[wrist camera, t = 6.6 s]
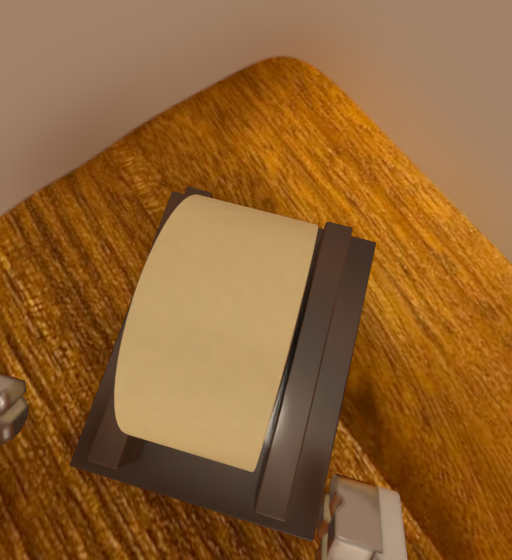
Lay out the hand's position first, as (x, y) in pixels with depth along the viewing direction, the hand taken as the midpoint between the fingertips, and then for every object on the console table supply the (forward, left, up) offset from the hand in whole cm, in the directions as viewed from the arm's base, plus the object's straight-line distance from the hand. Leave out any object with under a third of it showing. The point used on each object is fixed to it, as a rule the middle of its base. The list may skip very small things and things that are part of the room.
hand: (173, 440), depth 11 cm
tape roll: (-3, +3, -9) cm, 10 cm away
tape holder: (-3, +3, -10) cm, 10 cm away
